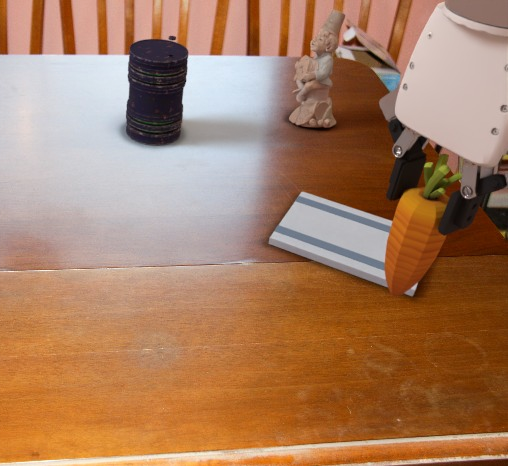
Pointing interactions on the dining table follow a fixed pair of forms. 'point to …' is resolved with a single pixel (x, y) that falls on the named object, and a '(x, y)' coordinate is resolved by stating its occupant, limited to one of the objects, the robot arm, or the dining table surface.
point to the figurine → (317, 77)
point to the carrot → (417, 229)
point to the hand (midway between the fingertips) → (425, 210)
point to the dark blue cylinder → (156, 90)
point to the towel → (336, 237)
